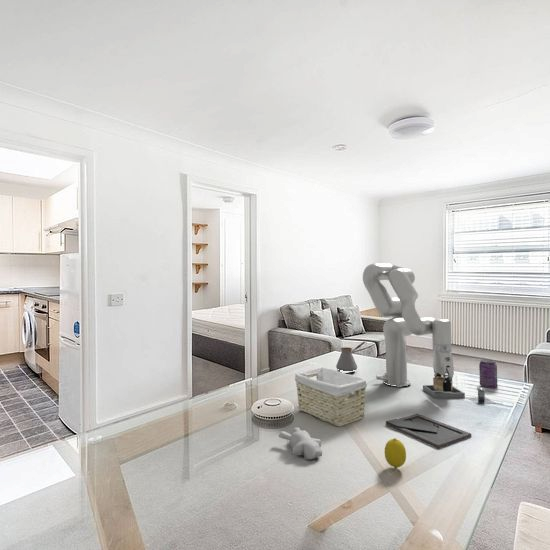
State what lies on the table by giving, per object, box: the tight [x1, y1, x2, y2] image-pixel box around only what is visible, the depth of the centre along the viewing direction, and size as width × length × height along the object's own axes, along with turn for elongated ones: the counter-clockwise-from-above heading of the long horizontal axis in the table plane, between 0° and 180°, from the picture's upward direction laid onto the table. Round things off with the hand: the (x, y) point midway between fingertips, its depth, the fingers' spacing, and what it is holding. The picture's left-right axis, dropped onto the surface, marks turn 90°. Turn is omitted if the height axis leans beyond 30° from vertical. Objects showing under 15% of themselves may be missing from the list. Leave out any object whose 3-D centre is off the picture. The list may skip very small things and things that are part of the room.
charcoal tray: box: [422, 384, 466, 400], centre depth 161 cm, size 12×12×2 cm
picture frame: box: [385, 413, 472, 449], centre depth 123 cm, size 16×2×21 cm
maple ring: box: [432, 375, 454, 392], centre depth 161 cm, size 7×7×4 cm
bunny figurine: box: [278, 426, 323, 461], centre depth 111 cm, size 10×5×15 cm
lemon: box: [384, 437, 407, 469], centre depth 100 cm, size 6×6×8 cm
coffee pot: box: [335, 341, 368, 371], centre depth 206 cm, size 21×12×15 cm, turn 125°
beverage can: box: [478, 358, 498, 389], centre depth 171 cm, size 7×7×12 cm
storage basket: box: [294, 367, 368, 427], centre depth 140 cm, size 24×16×15 cm
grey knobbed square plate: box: [467, 386, 498, 405], centre depth 151 cm, size 8×8×6 cm
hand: (442, 388), depth 161 cm, fingers closed on maple ring, 7 cm apart
